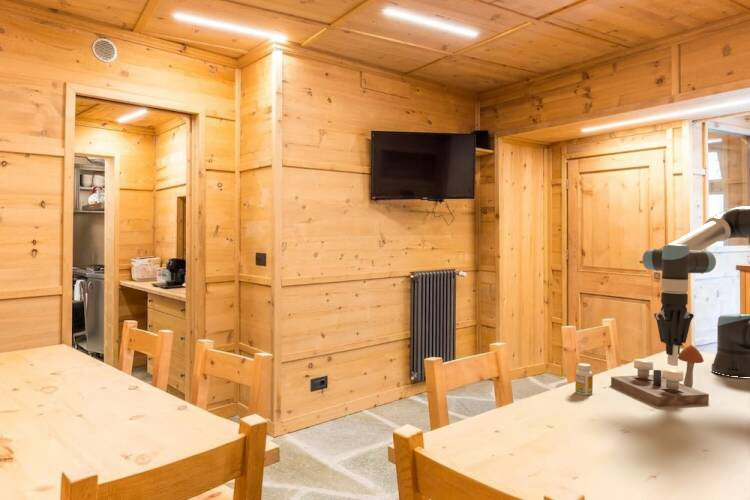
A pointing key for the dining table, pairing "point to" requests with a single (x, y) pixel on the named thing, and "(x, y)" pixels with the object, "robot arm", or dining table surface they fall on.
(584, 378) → the supplement bottle
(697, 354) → the mushroom
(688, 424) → the dining table surface
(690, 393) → the console
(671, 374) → the knob
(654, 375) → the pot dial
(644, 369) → the knob
